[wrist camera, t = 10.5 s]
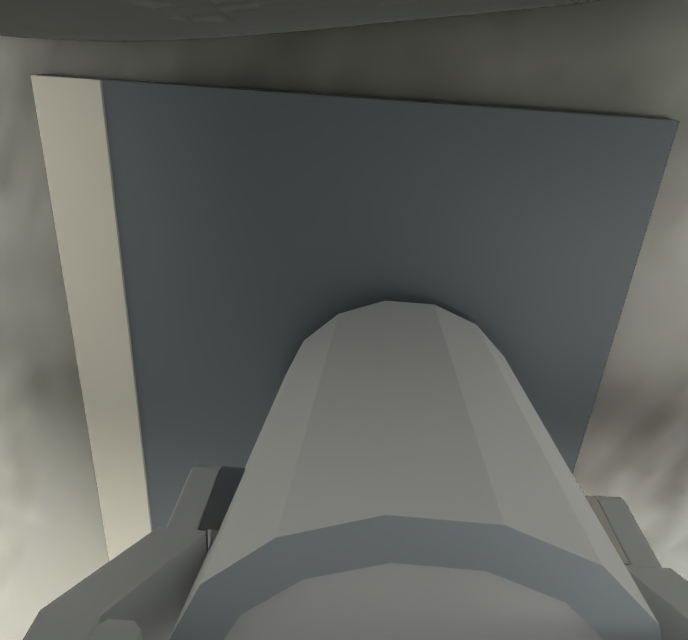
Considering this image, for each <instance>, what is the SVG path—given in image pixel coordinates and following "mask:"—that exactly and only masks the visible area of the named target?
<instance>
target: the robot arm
mask: <svg viewBox="0 0 688 640" xmlns="http://www.w3.org/2000/svg"><path fill="white" fill-rule="evenodd" d="M245 469H246V468H238V467H229V466H222V467H221V466H214V465H204V464H195V466H194V467H193V468H192V469H191V471H190V473H189V475H188V478H187V480H186V482H185V485H184V487H183V489H182V492H181V494H180V496H179V499H178V501H177V503H176V506H175V508H174V510H173V513H172V515H171V517H170V520H169V522H168V524H167V527H157V528H156V529H155V530H153V531H152V532H150V533H149V534H147V535H146V536H145V537H143V538H142V539H140V540H139V541H138V542H136V543H135V544H133V545H132V546H130V547H129V548H128V549H126V550H125V551H123V552H122V553H121V554H119V555H118V556H116V557H115V558H114V559H112V560H111V561H109V562H108V563H106V564H105V565H104V566H102V567H101V568H99V569H98V570H97V571H95V572H94V573H92V574H91V575H89V576H88V577H87V578H85V579H84V580H82V581H81V582H80V583H78V584H77V585H75V586H74V587H73V588H71V589H70V590H68V591H67V592H65V593H64V594H63V595H61V596H60V597H58V598H57V599H56V600H54V601H53V602H51V603H50V604H48V605H47V606H46V607H44V608H43V609H41V610H40V611H39V613H38V615H37V616H36V618H35V620H34V622H33V623H32V625H31V627H30V628H29V630H28V632H27V633H26V635H25V637H24V638H23V640H169V638H170V636H171V634H172V632H173V629H174V627H175V625H176V622H177V620H178V618H179V616H180V613H181V611H182V609H183V607H184V604H185V602H186V600H187V598H188V595H189V593H190V591H191V588H192V586H193V584H194V582H195V579H196V577H197V575H198V573H199V570H200V568H201V566H202V564H203V561H204V559H205V557H206V554H207V552H208V550H209V548H210V546H211V544H212V542H213V541H214V539H215V537H216V535H217V533H218V531H219V529H220V527H221V525H222V522H223V520H224V518H225V515H226V513H227V511H228V509H229V506H230V504H231V502H232V499H233V497H234V495H235V493H236V490H237V488H238V486H239V483H240V481H241V479H242V476H243V474H244V472H245ZM585 497H586V499H587V501H588V502H589V504H590V506H591V508H592V509H593V511H594V513H595V514H596V516H597V518H598V520H599V521H600V523H601V525H602V527H603V528H604V530H605V532H606V533H607V535H608V537H609V539H610V540H611V542H612V544H613V546H614V547H615V549H616V551H617V553H618V554H619V556H620V558H621V559H622V561H623V563H624V565H625V566H626V568H627V570H628V572H629V573H630V575H631V577H632V578H633V580H634V582H635V584H636V585H637V587H638V589H639V591H640V592H641V594H642V596H643V597H644V599H645V601H646V603H647V604H648V606H649V608H650V610H651V611H652V613H653V615H654V616H655V618H656V620H657V622H658V623H659V625H660V632H661V639H662V640H688V581H686V580H685V579H684V578H683V577H681V576H680V575H679V574H677V573H676V572H675V571H673V570H672V569H671V568H662V567H661V565H660V563H659V561H658V559H657V558H656V556H655V554H654V552H653V551H652V549H651V547H650V545H649V543H648V542H647V540H646V538H645V536H644V535H643V533H642V531H641V529H640V527H639V526H638V524H637V522H636V520H635V519H634V517H633V515H632V513H631V511H630V510H629V508H628V506H627V504H626V503H625V501H624V500H622V499H621V498H620V497H607V496H585Z"/></svg>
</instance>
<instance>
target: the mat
mask: <svg viewBox="0 0 688 640" xmlns="http://www.w3.org/2000/svg"><path fill="white" fill-rule="evenodd" d="M31 82H32V88H33V94H34V100H35V106H36V113H37V119H38V125H39V131H40V137H41V143H42V150H43V156H44V162H45V168H46V174H47V180H48V187H49V193H50V199H51V205H52V211H53V217H54V224H55V230H56V236H57V242H58V248H59V254H60V261H61V267H62V273H63V279H64V285H65V292H66V298H67V304H68V310H69V316H70V322H71V329H72V335H73V341H74V347H75V353H76V359H77V366H78V372H79V378H80V384H81V390H82V396H83V403H84V409H85V415H86V421H87V427H88V433H89V440H90V446H91V452H92V458H93V464H94V471H95V477H96V483H97V489H98V495H99V501H100V508H101V514H102V520H103V526H104V532H105V538H106V545H107V551H108V557H109V561H111V560H112V559H114V558H115V557H116V556H118V555H119V554H121V553H122V552H123V551H125V550H126V549H128V548H129V547H130V546H132V545H133V544H135V543H136V542H138V541H139V540H140V539H142V538H143V537H145V536H146V535H147V534H149V533H150V532H152V531H153V530H155V529H156V528H157V527H167V524H168V522H169V520H170V517H171V515H172V513H173V510H174V508H175V506H176V503H177V501H178V499H179V496H180V494H181V492H182V489H183V487H184V485H185V482H186V480H187V478H188V475H189V473H190V471H191V469H192V468H193V467H194V466H195V464H204V465H214V466H221V467H222V466H229V467H238V468H245V466H246V464H247V461H248V459H249V457H250V455H251V452H252V450H253V448H254V446H255V443H256V441H257V439H258V436H259V434H260V432H261V430H262V427H263V425H264V423H265V421H266V418H267V416H268V414H269V412H270V409H271V407H272V405H273V402H274V400H275V398H276V396H277V393H278V391H279V389H280V387H281V384H282V382H283V380H284V378H285V375H286V373H287V372H288V370H289V368H290V366H291V364H292V362H293V360H294V358H295V356H296V354H297V353H298V351H299V349H300V347H301V345H302V343H303V341H304V340H305V339H307V338H308V337H309V336H310V335H312V334H313V333H314V332H316V331H317V330H318V329H320V328H321V327H322V326H323V325H325V324H326V323H327V322H329V321H330V320H331V319H333V318H334V317H335V316H336V315H338V314H340V313H343V312H347V311H350V310H354V309H357V308H361V307H364V306H368V305H371V304H375V303H378V302H382V301H396V302H409V303H422V304H434V305H436V306H438V307H440V308H443V309H445V310H447V311H449V312H451V313H453V314H455V315H457V316H459V317H461V318H464V319H466V320H468V321H470V322H472V323H474V324H476V325H477V326H478V327H479V328H480V329H481V330H482V332H483V333H484V334H485V335H486V336H487V337H488V339H489V340H490V341H491V342H492V343H493V344H494V345H495V347H496V348H497V349H498V350H499V351H500V352H501V353H502V355H503V356H504V357H505V359H506V361H507V362H508V364H509V366H510V368H511V369H512V371H513V373H514V374H515V376H516V378H517V380H518V381H519V383H520V385H521V387H522V388H523V390H524V392H525V393H526V395H527V397H528V399H529V400H530V402H531V404H532V406H533V407H534V409H535V411H536V412H537V414H538V416H539V418H540V419H541V421H542V423H543V425H544V426H545V428H546V430H547V431H548V433H549V435H550V437H551V438H552V440H553V442H554V444H555V445H556V447H557V449H558V451H559V452H560V454H561V456H562V457H563V459H564V461H565V463H566V464H567V466H568V468H569V470H570V471H571V473H573V470H574V467H575V463H576V460H577V457H578V454H579V450H580V447H581V444H582V440H583V437H584V434H585V430H586V427H587V424H588V421H589V417H590V414H591V411H592V407H593V404H594V401H595V397H596V394H597V391H598V388H599V384H600V381H601V378H602V374H603V371H604V368H605V364H606V361H607V358H608V355H609V351H610V348H611V345H612V341H613V338H614V335H615V331H616V328H617V325H618V322H619V318H620V315H621V312H622V308H623V305H624V302H625V299H626V295H627V292H628V289H629V285H630V282H631V279H632V275H633V272H634V269H635V266H636V262H637V259H638V256H639V252H640V249H641V246H642V242H643V239H644V236H645V233H646V229H647V226H648V223H649V219H650V216H651V213H652V209H653V206H654V203H655V200H656V196H657V193H658V190H659V186H660V183H661V180H662V176H663V173H664V170H665V167H666V163H667V160H668V157H669V153H670V150H671V147H672V143H673V140H674V137H675V134H676V130H677V127H678V124H679V121H677V120H673V119H666V118H652V117H638V116H624V115H610V114H596V113H582V112H568V111H554V110H540V109H526V108H512V107H498V106H484V105H470V104H456V103H442V102H428V101H414V100H400V99H386V98H372V97H358V96H344V95H330V94H316V93H302V92H288V91H274V90H260V89H246V88H232V87H218V86H204V85H190V84H176V83H162V82H148V81H134V80H120V79H106V78H92V77H78V76H64V75H50V74H38V75H31Z"/></svg>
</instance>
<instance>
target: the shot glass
mask: <svg viewBox="0 0 688 640" xmlns="http://www.w3.org/2000/svg"><path fill="white" fill-rule="evenodd" d="M245 468H246V469H245V472H244V474H243V476H242V479H241V481H240V483H239V486H238V488H237V490H236V493H235V495H234V497H233V499H232V502H231V504H230V506H229V509H228V511H227V513H226V515H225V518H224V520H223V522H222V525H221V527H220V529H219V531H218V533H217V535H216V537H215V539H214V541H213V542H212V544H211V546H210V548H209V550H208V552H207V554H206V557H205V559H204V561H203V564H202V566H201V568H200V570H199V573H198V575H197V577H196V579H195V582H194V584H193V586H192V588H191V591H190V593H189V595H188V598H187V600H186V602H185V604H184V607H183V609H182V611H181V613H180V616H179V618H178V620H177V622H176V625H175V627H174V629H173V632H172V634H171V636H170V638H169V640H662V639H661V632H660V625H659V623H658V622H657V620H656V618H655V616H654V615H653V613H652V611H651V610H650V608H649V606H648V604H647V603H646V601H645V599H644V597H643V596H642V594H641V592H640V591H639V589H638V587H637V585H636V584H635V582H634V580H633V578H632V577H631V575H630V573H629V572H628V570H627V568H626V566H625V565H624V563H623V561H622V559H621V558H620V556H619V554H618V553H617V551H616V549H615V547H614V546H613V544H612V542H611V540H610V539H609V537H608V535H607V533H606V532H605V530H604V528H603V527H602V525H601V523H600V521H599V520H598V518H597V516H596V514H595V513H594V511H593V509H592V508H591V506H590V504H589V502H588V501H587V499H586V497H585V495H584V494H583V492H582V490H581V489H580V487H579V485H578V483H577V482H576V480H575V478H574V476H573V475H572V473H571V471H570V470H569V468H568V466H567V464H566V463H565V461H564V459H563V457H562V456H561V454H560V452H559V451H558V449H557V447H556V445H555V444H554V442H553V440H552V438H551V437H550V435H549V433H548V431H547V430H546V428H545V426H544V425H543V423H542V421H541V419H540V418H539V416H538V414H537V412H536V411H535V409H534V407H533V406H532V404H531V402H530V400H529V399H528V397H527V395H526V393H525V392H524V390H523V388H522V387H521V385H520V383H519V381H518V380H517V378H516V376H515V374H514V373H513V371H512V369H511V368H510V366H509V364H508V362H507V361H506V359H505V357H504V356H503V355H502V353H501V352H500V351H499V350H498V349H497V348H496V347H495V345H494V344H493V343H492V342H491V341H490V340H489V339H488V337H487V336H486V335H485V334H484V333H483V332H482V330H481V329H480V328H479V327H478V326H477V325H476V324H474V323H472V322H470V321H468V320H466V319H464V318H461V317H459V316H457V315H455V314H453V313H451V312H449V311H447V310H445V309H443V308H440V307H438V306H436V305H434V304H422V303H409V302H396V301H382V302H378V303H375V304H371V305H368V306H364V307H361V308H357V309H354V310H350V311H347V312H343V313H340V314H338V315H336V316H335V317H334V318H333V319H331V320H330V321H329V322H327V323H326V324H325V325H323V326H322V327H321V328H320V329H318V330H317V331H316V332H314V333H313V334H312V335H310V336H309V337H308V338H307V339H305V340H304V341H303V343H302V345H301V347H300V349H299V351H298V353H297V354H296V356H295V358H294V360H293V362H292V364H291V366H290V368H289V370H288V372H287V373H286V375H285V378H284V380H283V382H282V384H281V387H280V389H279V391H278V393H277V396H276V398H275V400H274V402H273V405H272V407H271V409H270V412H269V414H268V416H267V418H266V421H265V423H264V425H263V427H262V430H261V432H260V434H259V436H258V439H257V441H256V443H255V446H254V448H253V450H252V452H251V455H250V457H249V459H248V461H247V464H246V466H245Z"/></svg>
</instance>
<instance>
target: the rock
mask: <svg viewBox="0 0 688 640" xmlns="http://www.w3.org/2000/svg"><path fill="white" fill-rule="evenodd" d="M589 1H597V0H0V36H11V37H24V38H39V39H57V40H92V41H145V40H178V39H200V38H216V37H232V36H245V35H258V34H271V33H283V32H294V31H305V30H316V29H326V28H336V27H346V26H356V25H366V24H376V23H386V22H396V21H406V20H417V19H427V18H438V17H449V16H460V15H471V14H481V13H491V12H502V11H511V10H521V9H530V8H539V7H548V6H557V5H566V4H574V3H582V2H589Z"/></svg>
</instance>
